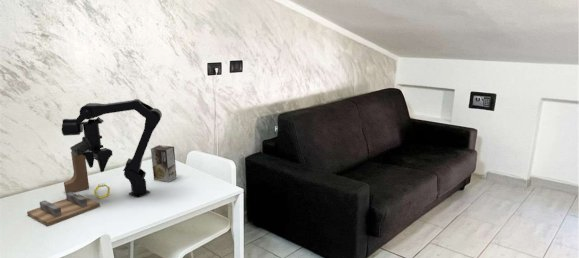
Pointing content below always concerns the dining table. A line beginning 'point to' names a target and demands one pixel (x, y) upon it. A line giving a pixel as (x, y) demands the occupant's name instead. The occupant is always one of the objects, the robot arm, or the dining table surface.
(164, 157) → the coffee box
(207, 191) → the dining table surface
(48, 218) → the cradle
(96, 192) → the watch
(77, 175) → the wooden block
